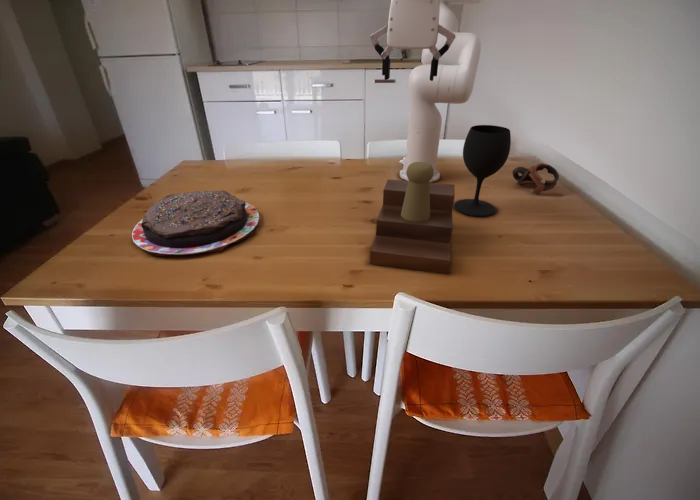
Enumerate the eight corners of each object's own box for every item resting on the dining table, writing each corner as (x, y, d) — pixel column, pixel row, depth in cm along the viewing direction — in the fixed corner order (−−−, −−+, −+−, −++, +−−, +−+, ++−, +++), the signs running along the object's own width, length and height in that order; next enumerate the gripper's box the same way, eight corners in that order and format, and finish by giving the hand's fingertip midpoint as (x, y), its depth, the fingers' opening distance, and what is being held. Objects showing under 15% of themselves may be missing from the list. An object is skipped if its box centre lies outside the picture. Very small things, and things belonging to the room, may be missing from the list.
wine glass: (502, 207, 92) (521, 128, 82) (484, 221, 86) (502, 137, 75) (465, 197, 98) (479, 122, 88) (446, 208, 92) (458, 129, 81)
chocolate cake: (256, 252, 74) (252, 224, 70) (112, 265, 70) (99, 236, 67) (262, 199, 97) (259, 176, 94) (154, 207, 94) (147, 183, 90)
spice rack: (447, 273, 67) (455, 226, 62) (369, 263, 70) (371, 218, 65) (448, 224, 85) (454, 184, 79) (385, 217, 88) (387, 179, 82)
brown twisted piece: (544, 183, 108) (562, 165, 101) (543, 207, 103) (562, 189, 96) (506, 171, 108) (521, 152, 101) (504, 194, 104) (519, 176, 97)
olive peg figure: (428, 209, 76) (435, 159, 70) (431, 222, 71) (438, 169, 65) (400, 208, 77) (404, 158, 71) (401, 221, 72) (405, 168, 66)
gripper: (462, -18, 70) (449, 78, 79) (375, -15, 73) (372, 77, 82) (463, -23, 63) (449, 82, 72) (368, -20, 67) (366, 80, 76)
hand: (408, 79), depth 77 cm, fingers open, 9 cm apart
